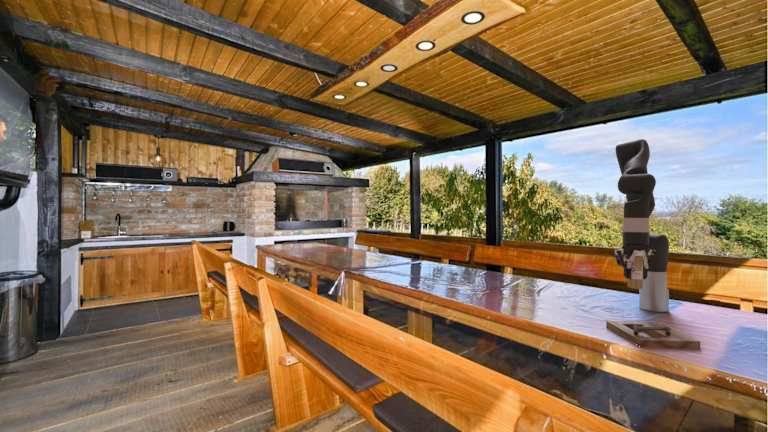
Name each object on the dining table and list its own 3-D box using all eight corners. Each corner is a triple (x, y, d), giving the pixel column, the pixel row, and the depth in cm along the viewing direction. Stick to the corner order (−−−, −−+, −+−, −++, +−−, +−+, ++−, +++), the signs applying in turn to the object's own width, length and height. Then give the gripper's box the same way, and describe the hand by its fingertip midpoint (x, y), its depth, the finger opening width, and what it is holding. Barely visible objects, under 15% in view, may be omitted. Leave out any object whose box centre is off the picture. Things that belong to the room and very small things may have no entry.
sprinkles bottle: (626, 287, 115) (627, 250, 115) (627, 285, 119) (628, 248, 118) (643, 289, 112) (643, 251, 112) (643, 287, 116) (644, 249, 115)
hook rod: (668, 334, 109) (668, 326, 109) (671, 335, 107) (671, 327, 107) (632, 333, 110) (632, 325, 110) (635, 334, 108) (635, 326, 108)
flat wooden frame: (657, 328, 121) (657, 321, 121) (700, 348, 103) (700, 341, 103) (606, 327, 122) (606, 320, 122) (640, 347, 104) (640, 339, 104)
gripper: (649, 230, 118) (649, 277, 118) (608, 229, 120) (607, 276, 120) (665, 231, 111) (665, 281, 111) (620, 231, 112) (620, 280, 112)
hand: (635, 278), depth 115 cm, fingers closed on sprinkles bottle, 4 cm apart
